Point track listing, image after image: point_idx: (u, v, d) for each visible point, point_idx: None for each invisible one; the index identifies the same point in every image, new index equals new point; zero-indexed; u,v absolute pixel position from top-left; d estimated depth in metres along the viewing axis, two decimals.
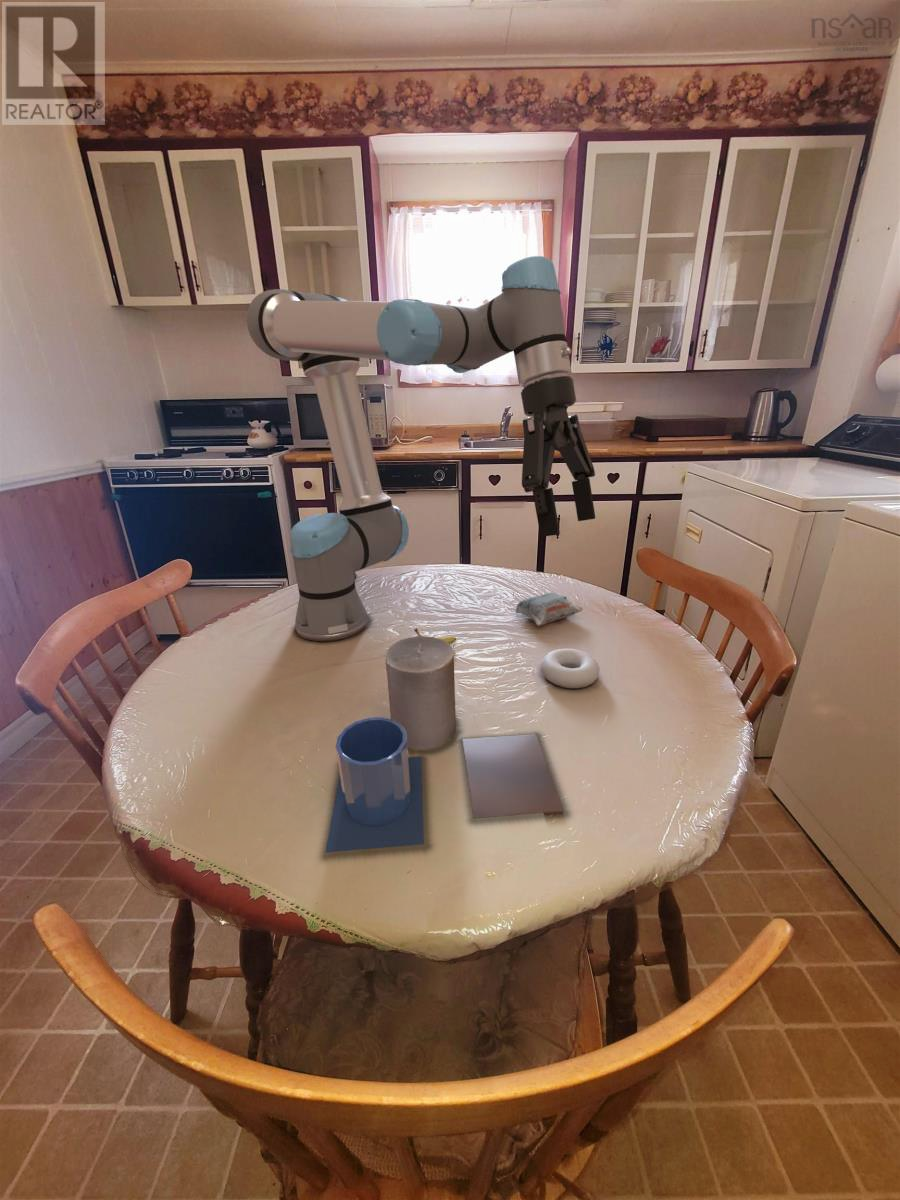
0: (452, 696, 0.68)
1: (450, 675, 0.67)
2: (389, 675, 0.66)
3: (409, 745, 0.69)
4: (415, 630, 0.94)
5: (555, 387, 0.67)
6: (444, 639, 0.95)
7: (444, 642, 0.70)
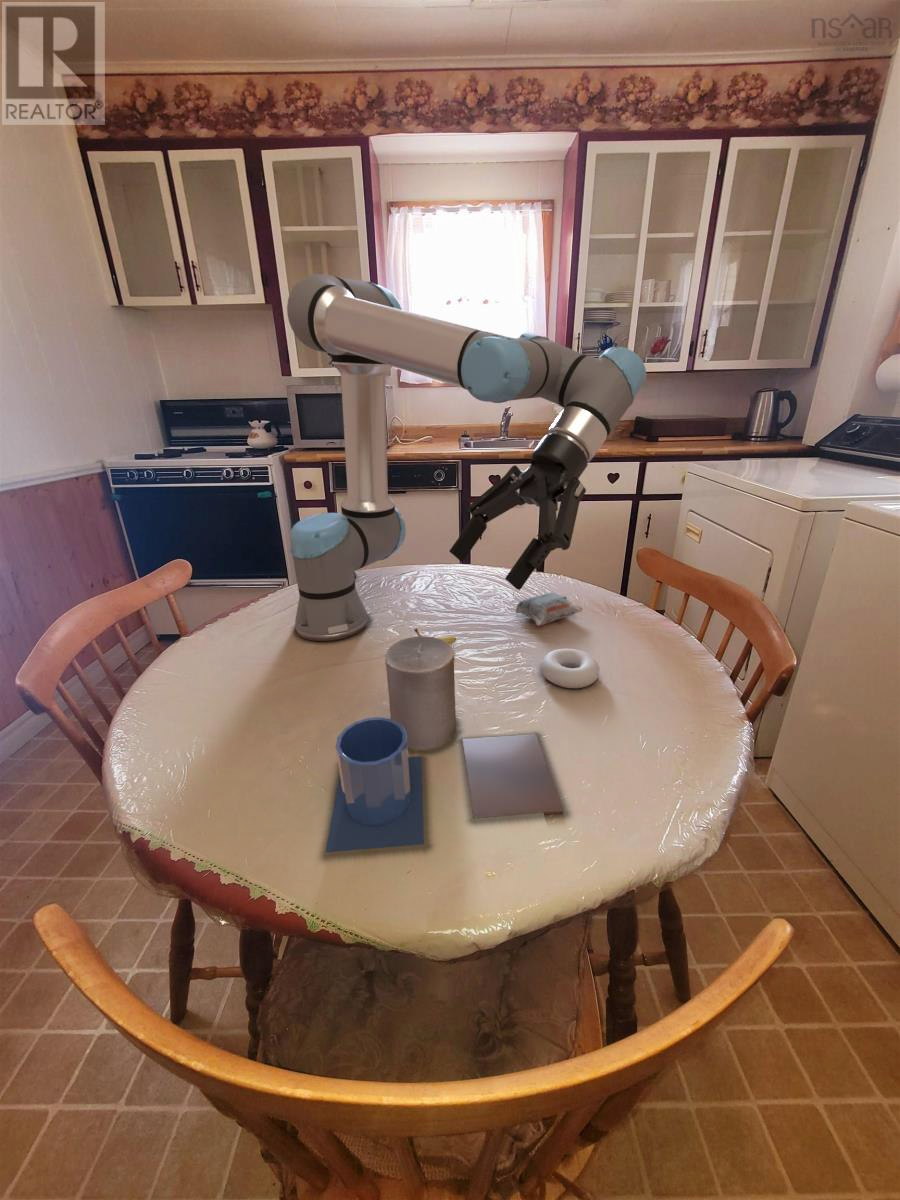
0: (452, 696, 0.68)
1: (450, 675, 0.67)
2: (389, 675, 0.66)
3: (409, 745, 0.69)
4: (415, 630, 0.94)
5: (582, 471, 0.69)
6: (444, 639, 0.95)
7: (444, 642, 0.70)
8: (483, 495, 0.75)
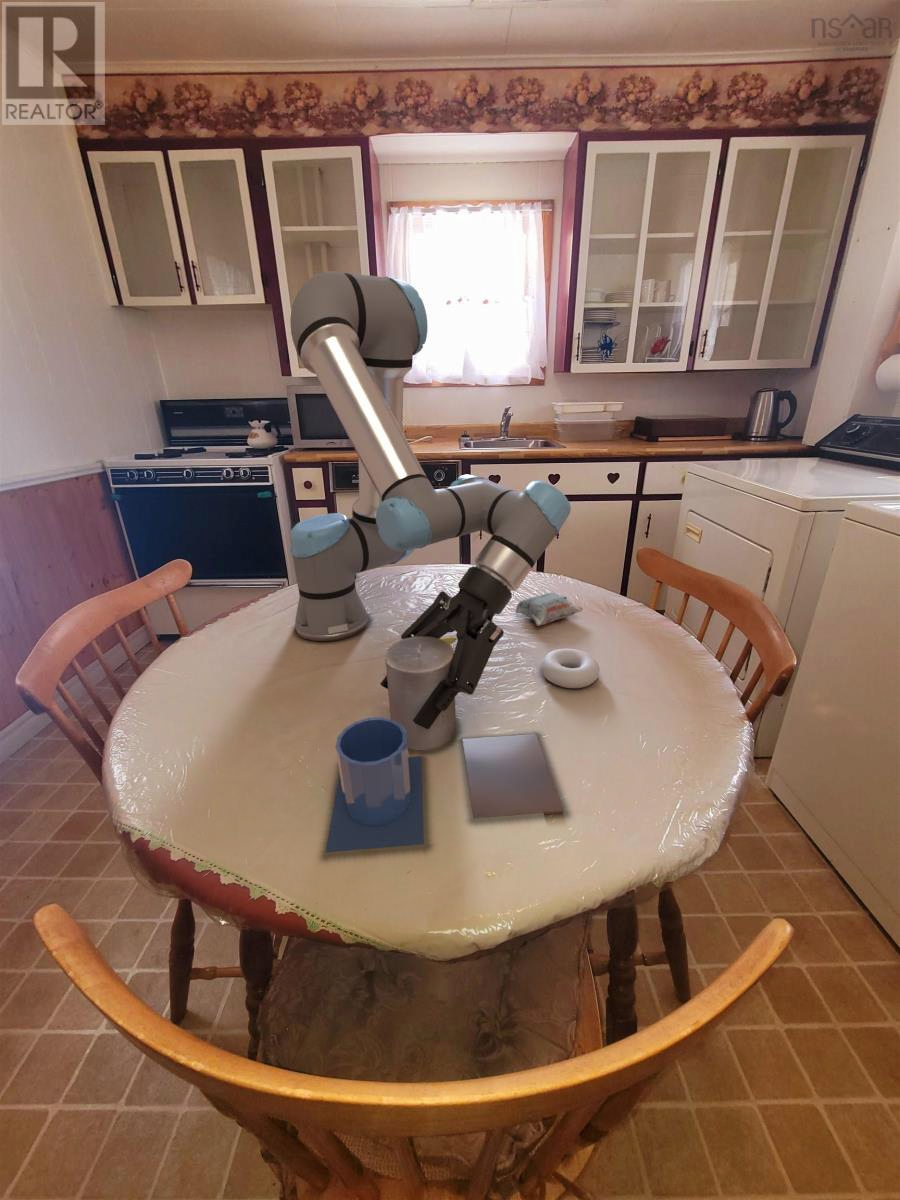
0: None
1: None
2: (388, 676, 0.66)
3: (409, 745, 0.69)
4: None
5: None
6: (444, 639, 0.95)
7: (444, 642, 0.70)
8: (415, 623, 0.75)
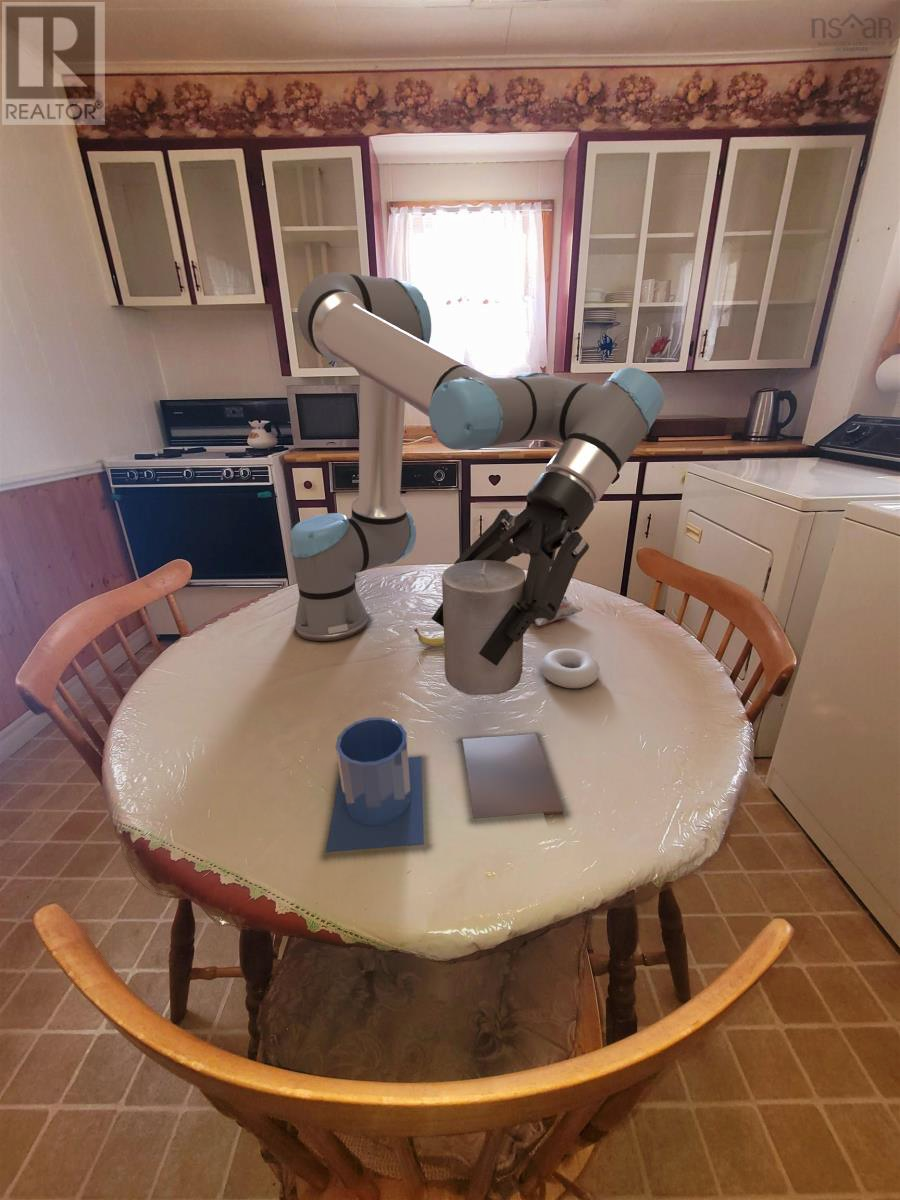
0: None
1: None
2: (447, 601, 0.54)
3: (470, 688, 0.57)
4: (415, 630, 0.94)
5: None
6: None
7: (511, 564, 0.58)
8: (471, 548, 0.62)
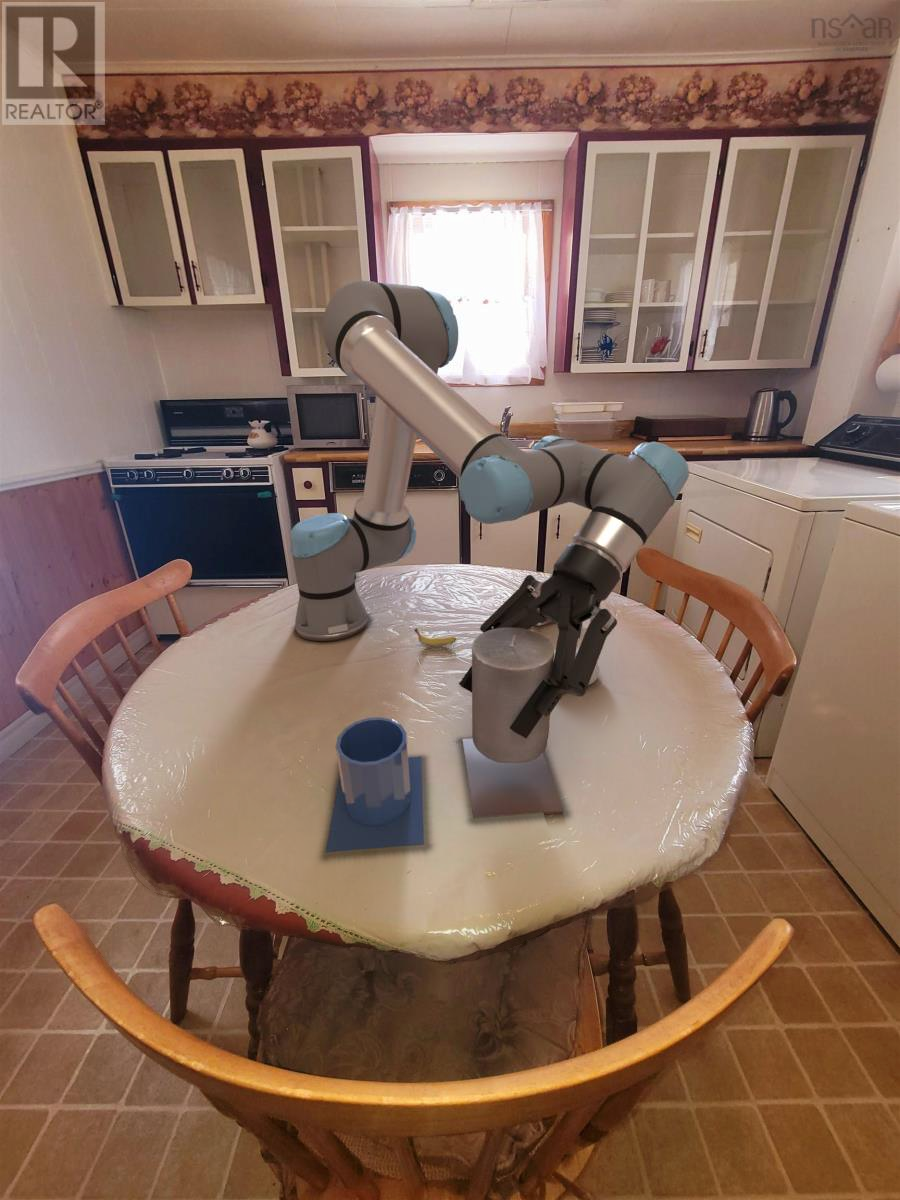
0: None
1: (551, 673, 0.56)
2: (477, 674, 0.55)
3: (498, 757, 0.58)
4: (415, 630, 0.94)
5: None
6: (444, 639, 0.95)
7: (538, 634, 0.59)
8: (497, 612, 0.64)
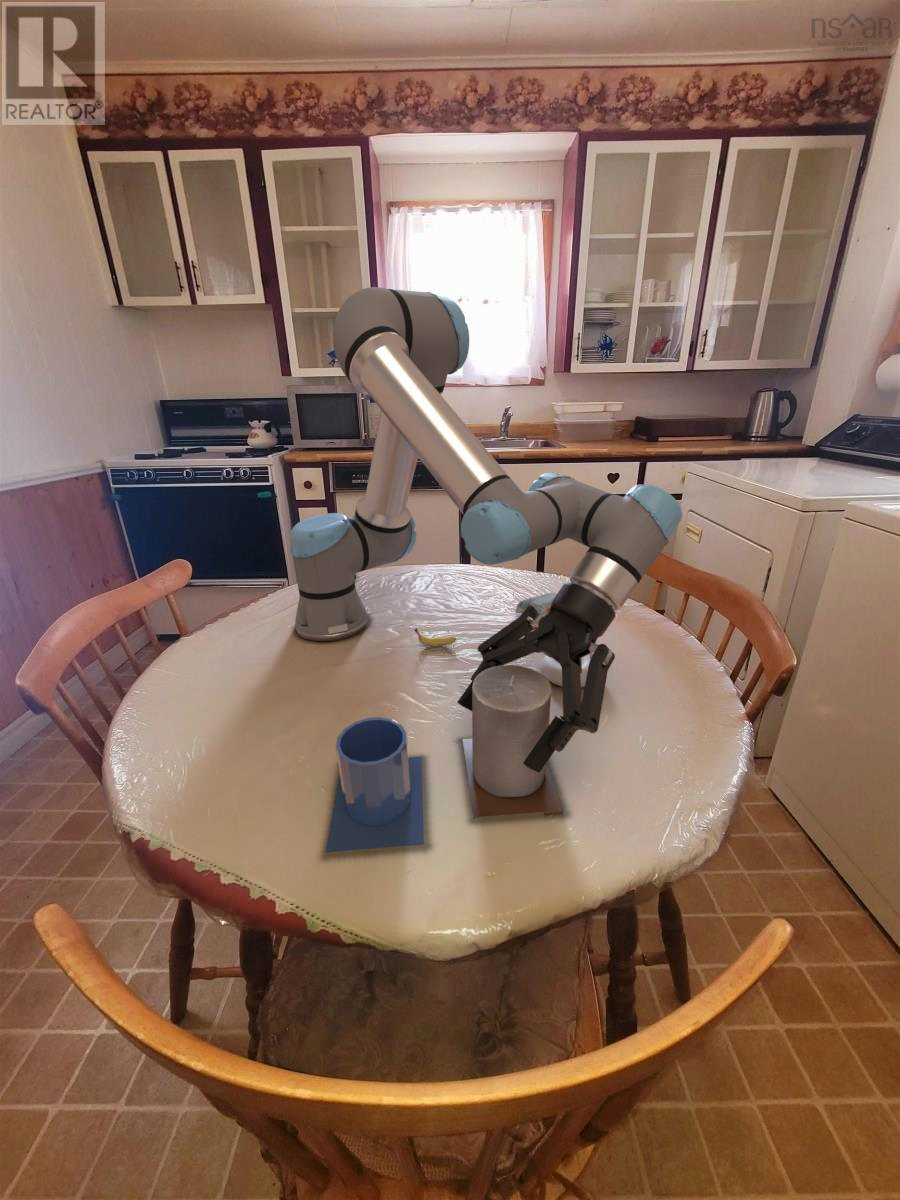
0: None
1: (548, 712, 0.58)
2: (478, 713, 0.58)
3: (498, 791, 0.60)
4: (415, 630, 0.94)
5: None
6: (444, 639, 0.95)
7: (536, 673, 0.61)
8: (495, 636, 0.67)
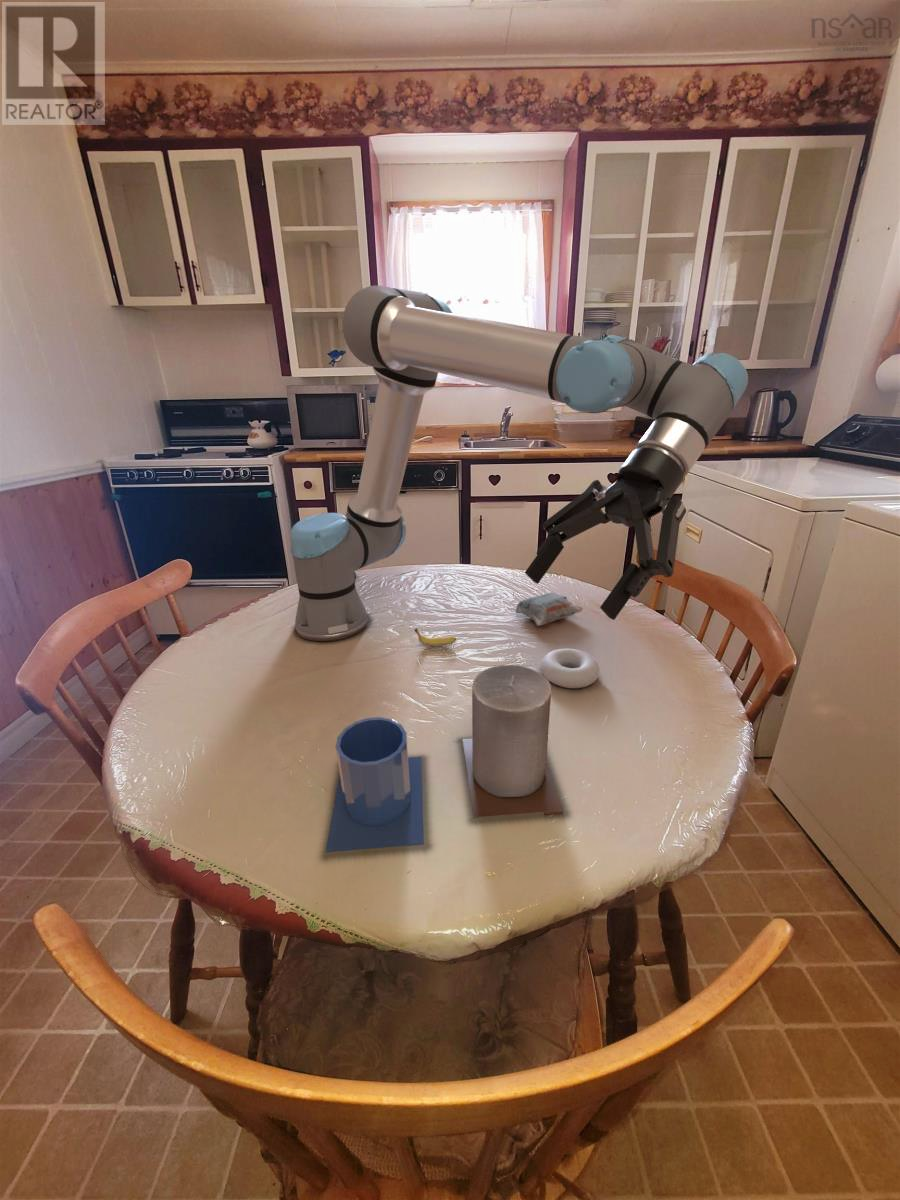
0: (547, 735, 0.60)
1: (548, 712, 0.58)
2: (478, 713, 0.58)
3: (498, 791, 0.60)
4: (415, 630, 0.94)
5: None
6: (444, 639, 0.95)
7: (536, 673, 0.61)
8: (560, 512, 0.69)
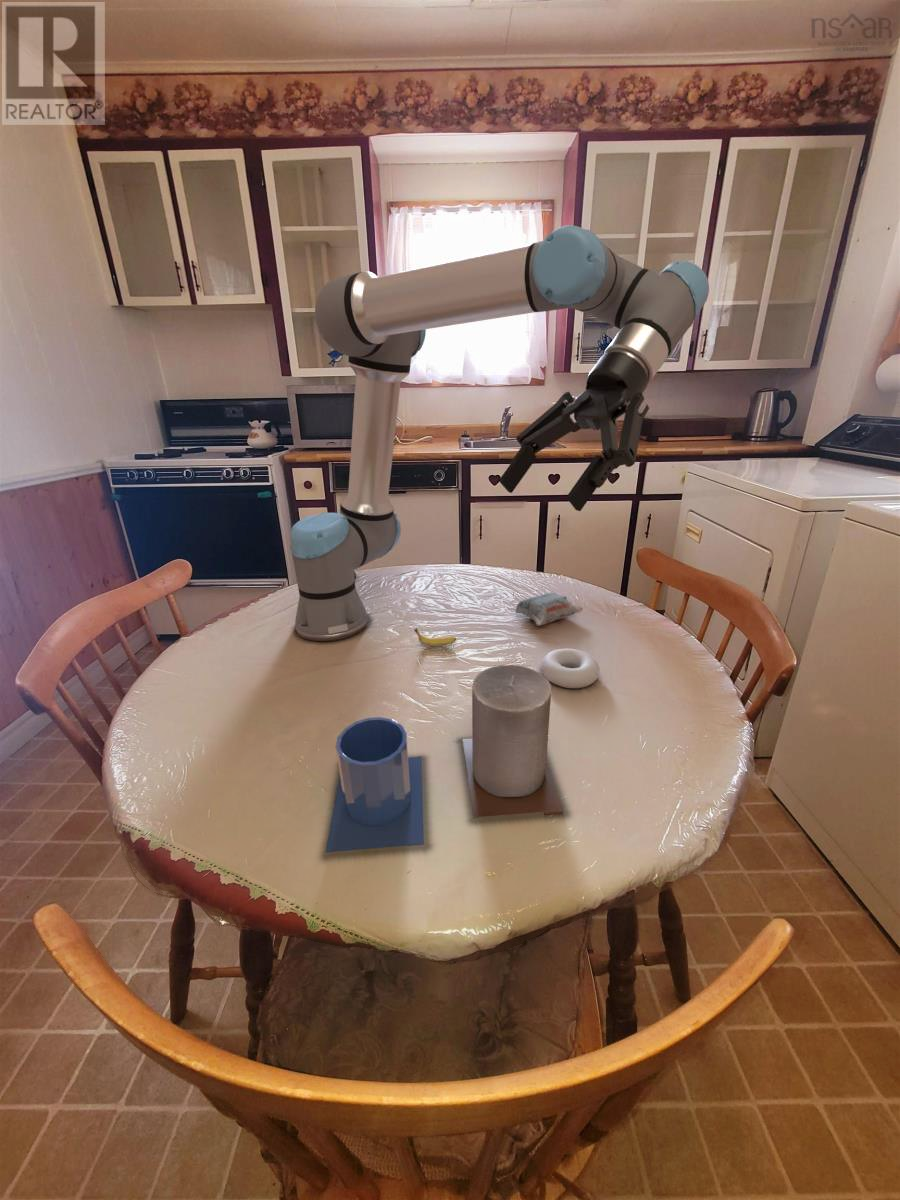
0: (547, 735, 0.60)
1: (548, 712, 0.58)
2: (478, 713, 0.58)
3: (498, 791, 0.60)
4: (415, 630, 0.94)
5: None
6: (444, 639, 0.95)
7: (536, 673, 0.61)
8: (533, 424, 0.72)
